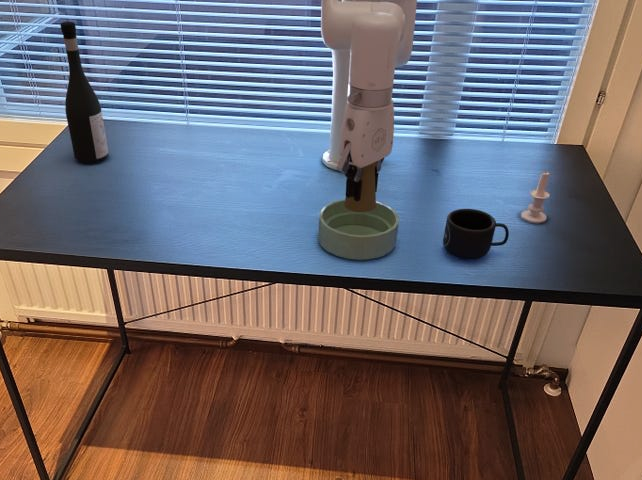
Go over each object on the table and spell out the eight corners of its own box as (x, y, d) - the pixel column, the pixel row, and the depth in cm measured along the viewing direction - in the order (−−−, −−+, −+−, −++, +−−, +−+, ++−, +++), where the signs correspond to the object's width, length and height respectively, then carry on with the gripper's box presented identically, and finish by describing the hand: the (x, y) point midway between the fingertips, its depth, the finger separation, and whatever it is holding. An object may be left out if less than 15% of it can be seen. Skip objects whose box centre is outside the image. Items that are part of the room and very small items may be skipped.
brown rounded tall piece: (379, 200, 127) (385, 144, 120) (371, 214, 123) (377, 157, 116) (348, 195, 129) (353, 140, 122) (340, 209, 124) (344, 152, 117)
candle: (515, 215, 140) (527, 168, 133) (532, 209, 142) (545, 163, 136) (533, 225, 137) (547, 178, 130) (551, 220, 139) (565, 172, 132)
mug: (443, 263, 125) (450, 230, 120) (438, 239, 132) (444, 206, 127) (508, 266, 124) (517, 233, 120) (499, 242, 131) (507, 209, 127)
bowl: (366, 217, 139) (369, 192, 135) (411, 250, 129) (414, 224, 125) (304, 233, 133) (304, 208, 130) (345, 269, 123) (347, 243, 119)
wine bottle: (112, 152, 163) (90, 18, 144) (106, 165, 157) (82, 27, 138) (78, 152, 163) (52, 18, 143) (72, 165, 157) (43, 27, 137)
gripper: (355, 112, 106) (347, 216, 118) (417, 88, 115) (403, 187, 127) (320, 100, 110) (316, 202, 122) (382, 79, 119) (373, 175, 131)
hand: (361, 193), depth 124 cm, fingers closed on brown rounded tall piece, 4 cm apart
